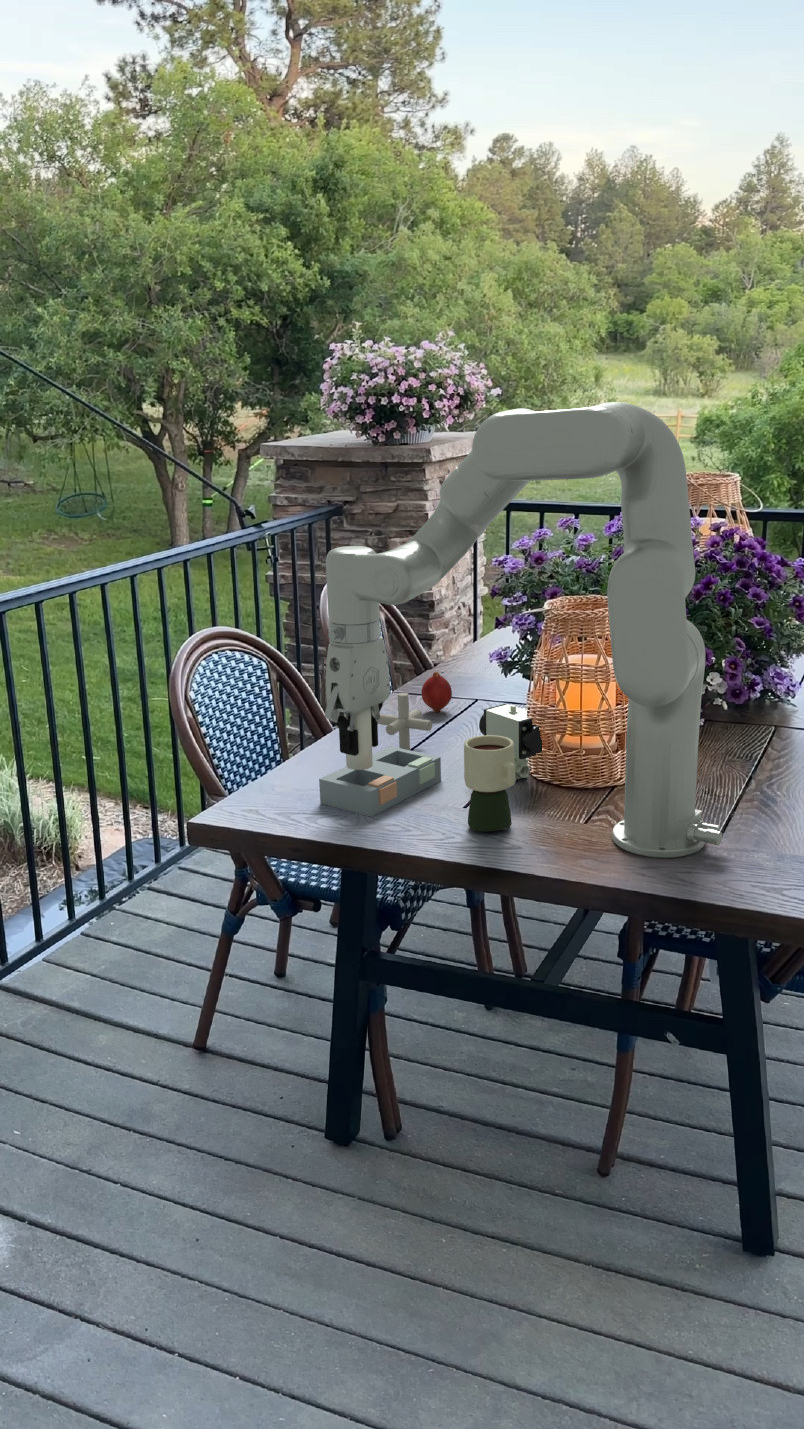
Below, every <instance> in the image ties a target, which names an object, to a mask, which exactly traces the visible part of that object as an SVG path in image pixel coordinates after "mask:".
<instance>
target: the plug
mask: <svg viewBox="0 0 804 1429" xmlns="http://www.w3.org/2000/svg"><path fill="white" fill-rule="evenodd" d="M344 716H345V717H346V718H347V720H348V714H347V713H344ZM355 729H356V730H358V746H359V753H358V755H356V756H353V755H349V754H345V762H346V764H345V765H346V766H347V768H349V769H352V770H364V769H368V768H371V767H372V766H373V759H372V755H373V747H372V731H371V707H370V708H367V709H365V710H362V711H359V712H356V720H355ZM346 766H345V767H346Z"/></svg>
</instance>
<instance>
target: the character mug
mask: <svg viewBox="0 0 804 1429" xmlns="http://www.w3.org/2000/svg"><path fill="white" fill-rule="evenodd" d="M514 762H515V756H514V743H513V741H512V740H511V739H510V738H507V737H503V736H495V735H485V736H484V735H478V736H472V737H471V738H470V737H469V738H468V739H466V740H465V741H464V742H463V764H464V765H463V767H464V768H463V769H464V772H463V774H464V776H463V777H464V778H463V779H464V782H465V787H467V788H468V789H469V790H472V791H471V794H470V799H469V805H468V813H467V814H468V815H467V817H468V818H467V824H468V827H469V828H470V829H472V830H474V831H475V832H485V833H486V832H498V831H502V830H505V829H509V828H511V826H512V825H513V823H512V813H511V807H510V800H509V794H508V792H507V790H506V789H508V788H511V787H514V785H516V781H515V765H514Z"/></svg>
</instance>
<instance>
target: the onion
mask: <svg viewBox="0 0 804 1429" xmlns="http://www.w3.org/2000/svg"><path fill="white" fill-rule="evenodd" d="M452 696H453V692H452V686H451V684H450V682H449V681H448V680H447V679H446V678H445V677H443V676H442V675H441V674H440V672H439V671H434V672H433V673H432V676H429V677H428V678H427V679H426V680H425V682H424V683H423V684H422V687H421V699H422V701H423V703H424V704H425V705H426V706H427V707H428V708H430V709H431V710H432V711H434V712H435V713H439V712H441V711H442V710H443V709H444V708H446V707H447V706H448V705H449V703H450V702H451V700H452V698H453V697H452Z"/></svg>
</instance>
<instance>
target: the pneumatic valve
mask: <svg viewBox="0 0 804 1429" xmlns="http://www.w3.org/2000/svg"><path fill="white" fill-rule="evenodd" d="M527 711H528V710H527V709H526V708H525V707H524V708H519V707H517V705H514V704H508V703H502V704H498V705H496V706H491V707H488V708H484V709H483V713H482V715H481V717H480V719H479V722H478V726H479V727H478V729H479V731H480V733H481V734H482V736H485V735H495V736H503V737H507V738H510V739H511V740H512V741H513V743H514V756H515V762H514V765H515V782H516V781H517V780H519V779H523V778H524V779H526V778H528V777H529V773H530V767H529V764H528V763H529V759H528V758H531V757H534V756H537V755H536V753H540V752H541V751H542V740H541V737H540V736H541V735H540V731H539V726H536V725H532V719H530V718H527Z"/></svg>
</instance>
